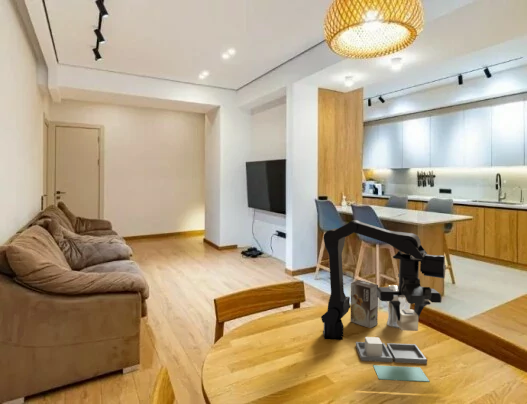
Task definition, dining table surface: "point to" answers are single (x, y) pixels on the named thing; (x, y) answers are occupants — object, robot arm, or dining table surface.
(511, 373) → the dining table surface
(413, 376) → the teal mat
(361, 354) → the tray
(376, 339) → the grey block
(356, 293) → the coffee box
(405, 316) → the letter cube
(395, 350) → the tray
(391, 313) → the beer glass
